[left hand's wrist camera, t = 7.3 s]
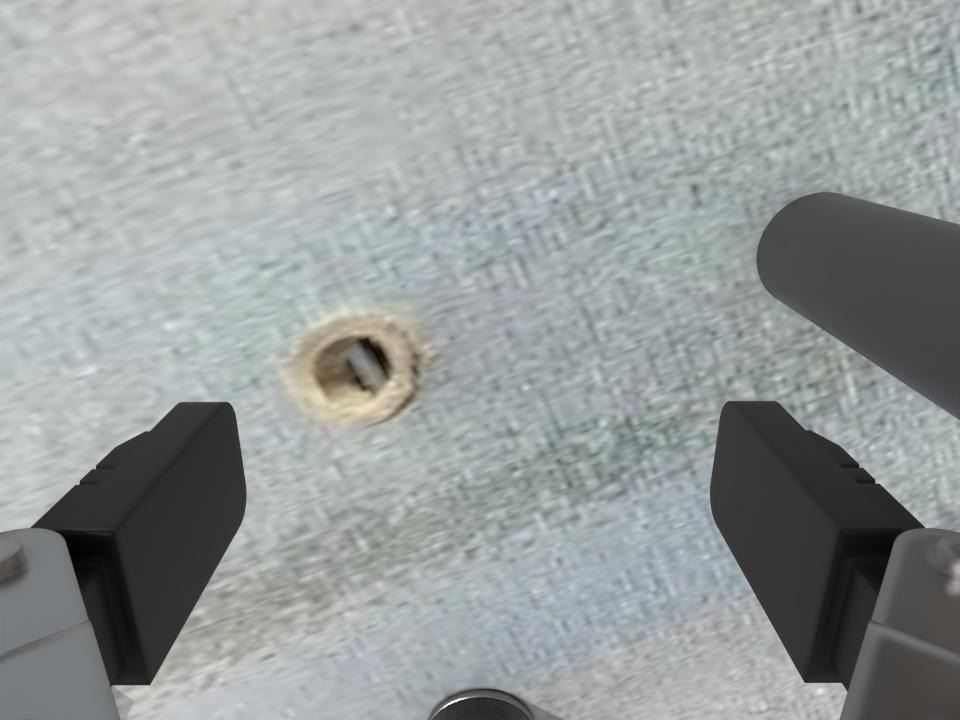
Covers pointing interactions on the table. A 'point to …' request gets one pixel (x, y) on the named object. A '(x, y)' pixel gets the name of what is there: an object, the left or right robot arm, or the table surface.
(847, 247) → the bottle
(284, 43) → the table surface
